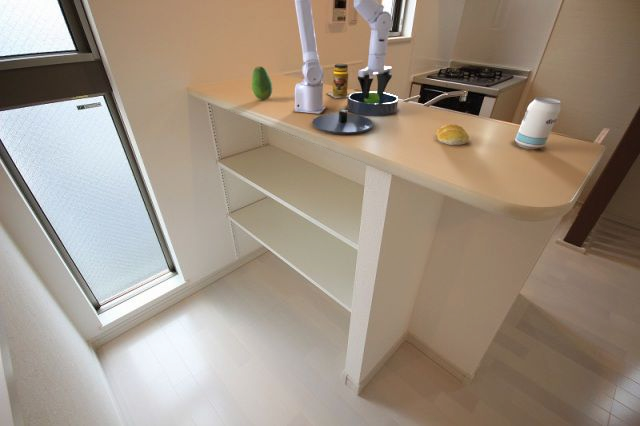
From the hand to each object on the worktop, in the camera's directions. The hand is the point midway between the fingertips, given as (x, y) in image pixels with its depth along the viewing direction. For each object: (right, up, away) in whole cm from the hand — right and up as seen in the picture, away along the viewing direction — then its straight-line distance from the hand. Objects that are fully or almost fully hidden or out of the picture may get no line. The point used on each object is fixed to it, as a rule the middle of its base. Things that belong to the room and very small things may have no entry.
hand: (372, 96), depth 107 cm
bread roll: (+18, -22, -23) cm, 36 cm away
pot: (0, -3, +2) cm, 4 cm away
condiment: (-11, +8, +19) cm, 23 cm away
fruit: (-42, +3, +11) cm, 43 cm away
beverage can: (+38, -24, -26) cm, 52 cm away
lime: (0, -1, +1) cm, 1 cm away
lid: (-12, -14, -14) cm, 23 cm away
